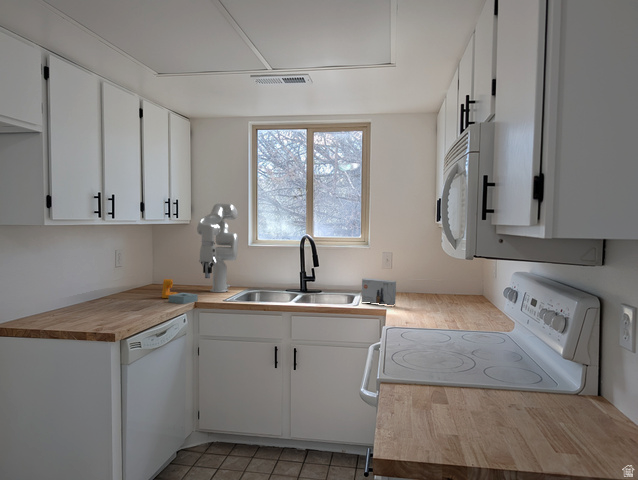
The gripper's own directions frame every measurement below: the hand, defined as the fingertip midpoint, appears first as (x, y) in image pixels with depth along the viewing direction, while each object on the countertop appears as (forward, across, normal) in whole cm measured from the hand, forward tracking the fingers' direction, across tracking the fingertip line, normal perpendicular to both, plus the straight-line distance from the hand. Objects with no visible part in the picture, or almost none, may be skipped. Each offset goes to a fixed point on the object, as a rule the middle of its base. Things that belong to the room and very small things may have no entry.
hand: (207, 272), depth 267 cm
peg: (+3, 0, 0) cm, 3 cm away
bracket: (+18, +24, +7) cm, 31 cm away
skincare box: (+18, -98, -46) cm, 109 cm away
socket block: (+17, +8, +12) cm, 22 cm away
